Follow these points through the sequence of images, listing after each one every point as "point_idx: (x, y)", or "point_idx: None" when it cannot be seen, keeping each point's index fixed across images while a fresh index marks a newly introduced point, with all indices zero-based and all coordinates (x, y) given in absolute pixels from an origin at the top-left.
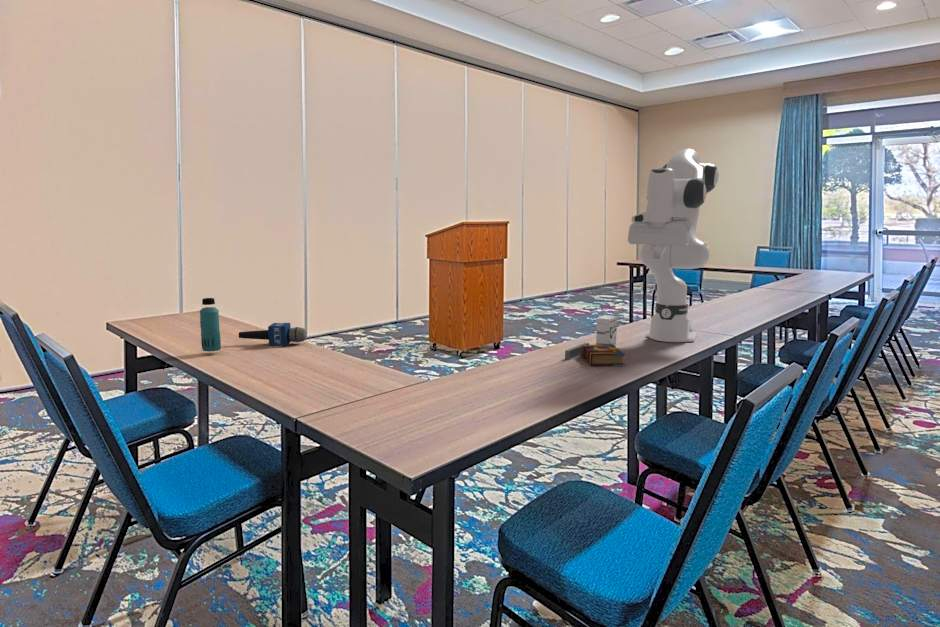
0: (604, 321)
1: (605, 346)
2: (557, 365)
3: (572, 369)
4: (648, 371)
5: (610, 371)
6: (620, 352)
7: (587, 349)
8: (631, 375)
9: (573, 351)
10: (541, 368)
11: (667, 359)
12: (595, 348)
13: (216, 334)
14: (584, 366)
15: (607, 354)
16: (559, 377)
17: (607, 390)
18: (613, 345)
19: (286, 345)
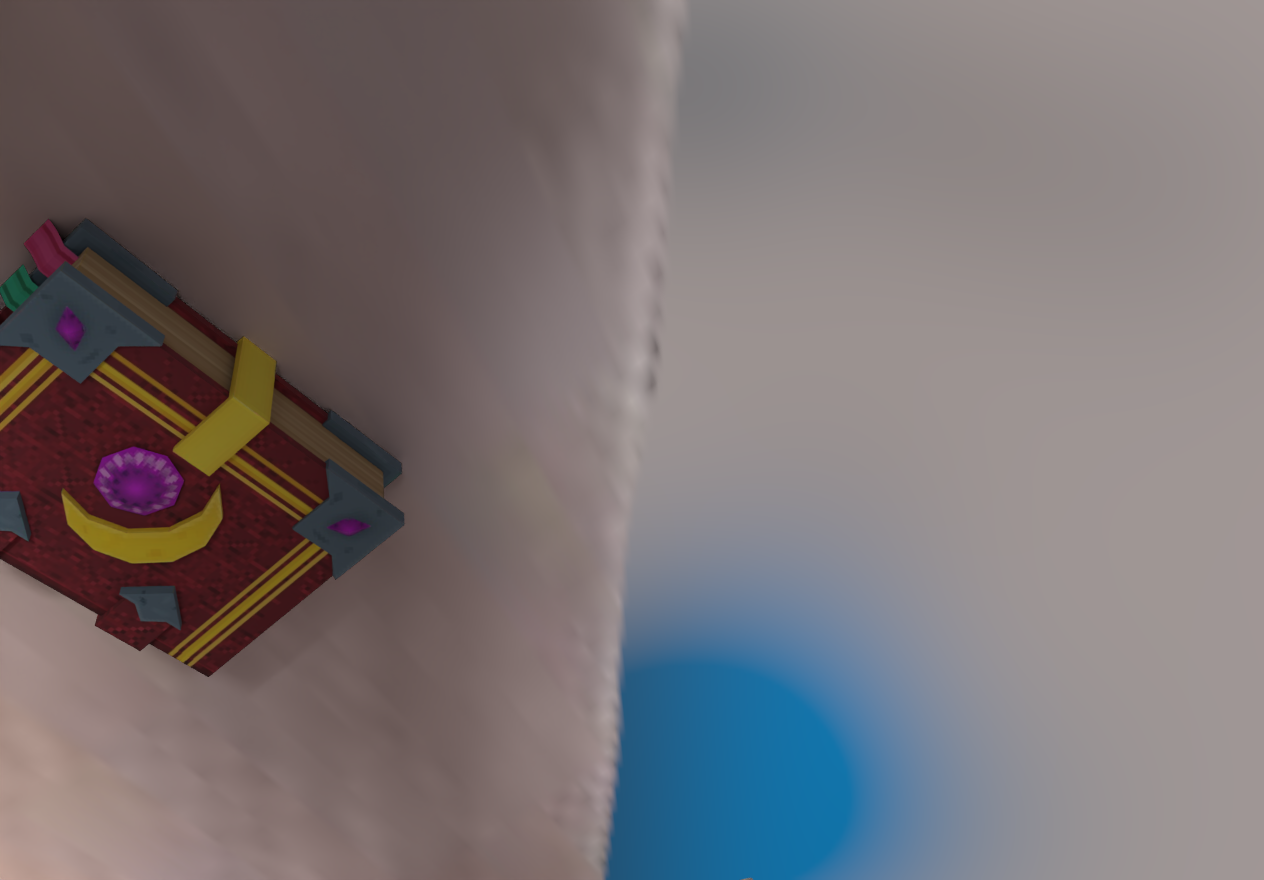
0: None
1: (81, 391)
2: (27, 726)
3: (185, 733)
4: (614, 478)
5: (409, 627)
6: (364, 529)
7: (60, 583)
8: (566, 618)
9: None
10: (19, 827)
11: (585, 11)
12: (104, 544)
13: None
14: None
15: (300, 600)
16: (260, 875)
17: (595, 871)
18: (118, 322)
19: None
